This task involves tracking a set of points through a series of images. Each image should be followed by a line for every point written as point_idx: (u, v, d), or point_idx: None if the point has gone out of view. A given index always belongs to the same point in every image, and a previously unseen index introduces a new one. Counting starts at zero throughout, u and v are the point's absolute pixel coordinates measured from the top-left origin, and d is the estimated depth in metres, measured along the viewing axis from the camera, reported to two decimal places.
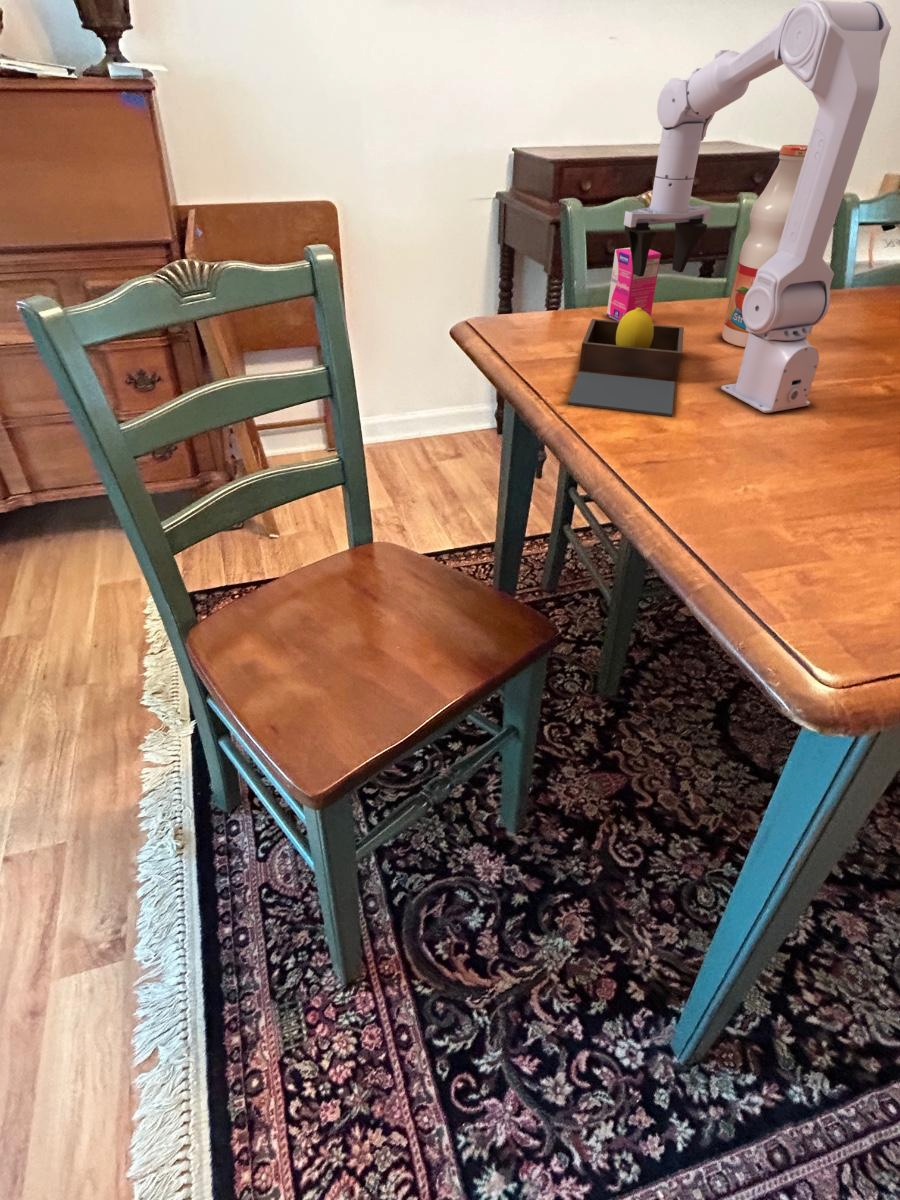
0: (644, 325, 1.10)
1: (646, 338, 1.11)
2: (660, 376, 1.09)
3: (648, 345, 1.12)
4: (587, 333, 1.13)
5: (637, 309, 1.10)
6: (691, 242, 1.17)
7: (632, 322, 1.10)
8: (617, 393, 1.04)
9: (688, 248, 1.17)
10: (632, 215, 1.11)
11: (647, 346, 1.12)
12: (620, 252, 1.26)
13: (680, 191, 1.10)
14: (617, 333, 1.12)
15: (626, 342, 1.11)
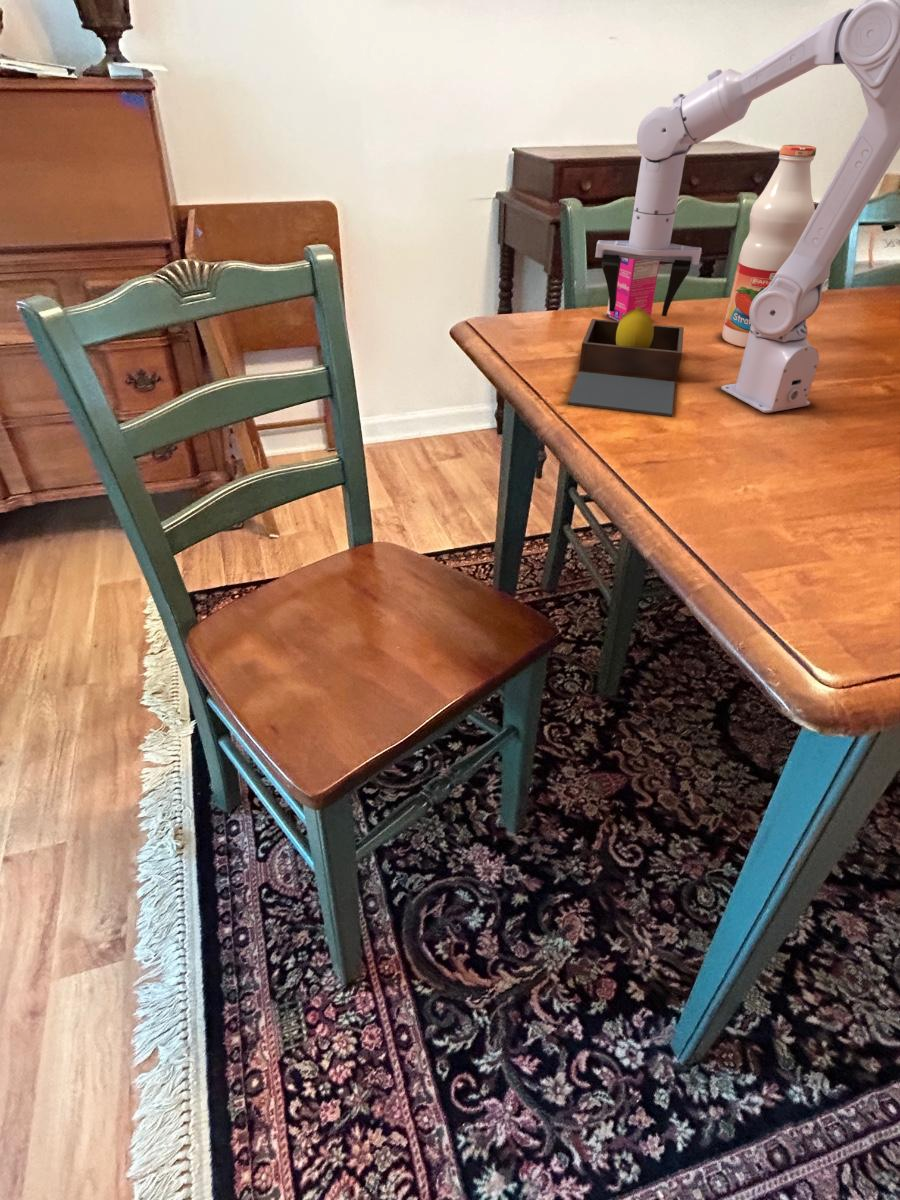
0: (644, 325, 1.10)
1: (646, 338, 1.11)
2: (660, 376, 1.09)
3: (648, 345, 1.12)
4: (587, 333, 1.13)
5: (637, 309, 1.10)
6: (670, 285, 1.06)
7: (632, 322, 1.10)
8: (617, 393, 1.04)
9: (668, 291, 1.06)
10: (597, 245, 1.06)
11: (647, 346, 1.12)
12: None
13: (647, 226, 1.01)
14: (617, 333, 1.12)
15: (626, 342, 1.11)
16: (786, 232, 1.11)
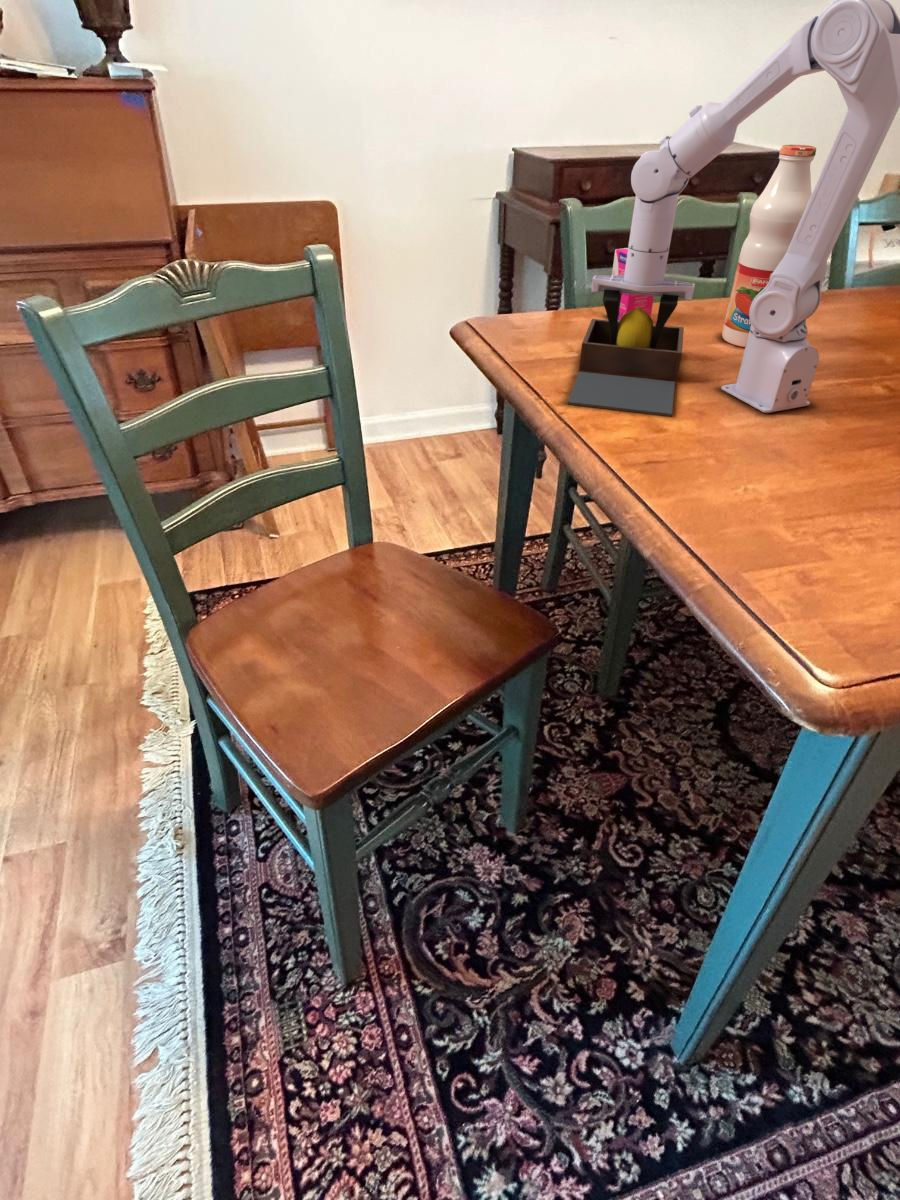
0: (644, 325, 1.10)
1: (646, 338, 1.11)
2: (660, 376, 1.09)
3: (648, 345, 1.12)
4: (587, 333, 1.13)
5: (637, 309, 1.10)
6: (658, 318, 1.09)
7: (632, 322, 1.10)
8: (617, 393, 1.04)
9: (656, 324, 1.09)
10: (593, 280, 1.09)
11: (647, 346, 1.12)
12: (620, 252, 1.26)
13: (641, 263, 1.04)
14: (617, 333, 1.12)
15: (626, 342, 1.11)
16: (786, 232, 1.11)
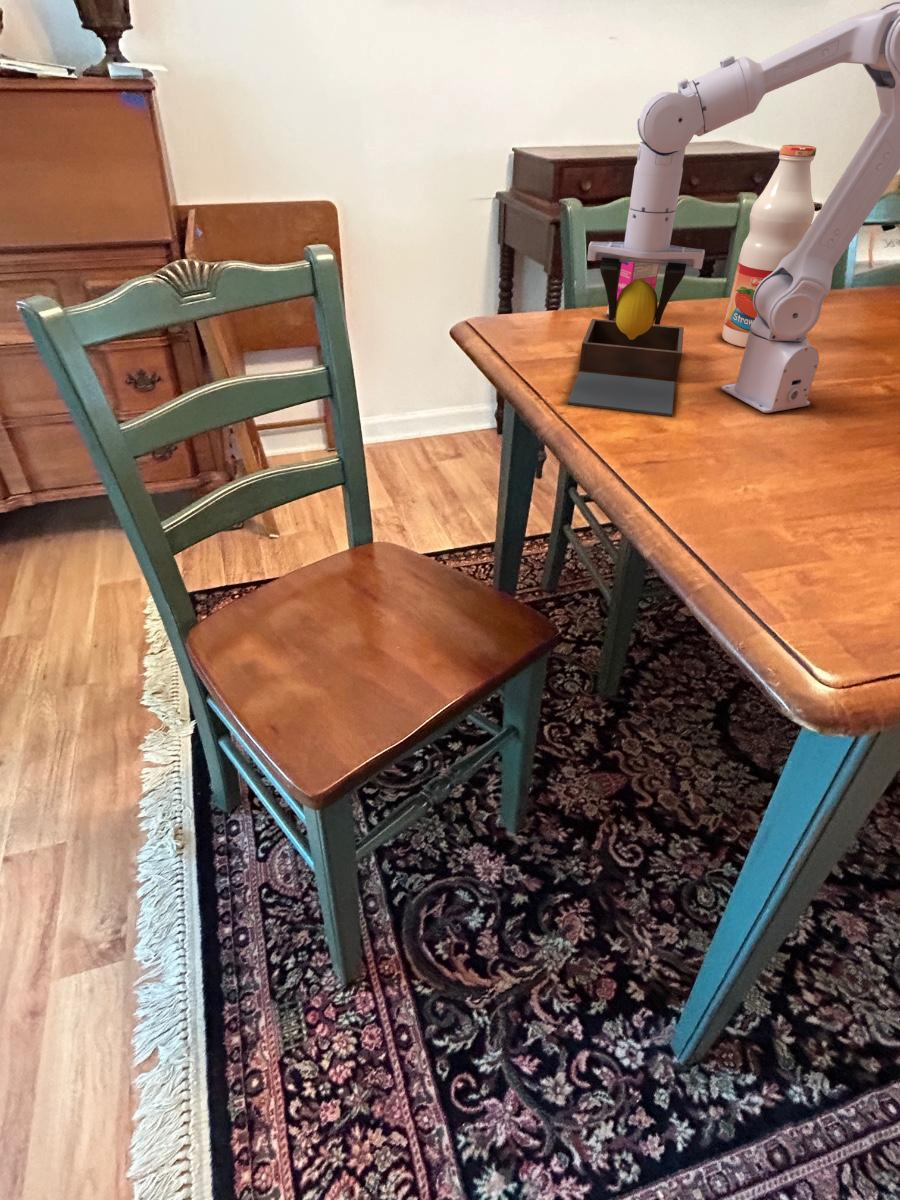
0: (646, 298, 0.97)
1: (649, 313, 0.98)
2: (660, 376, 1.09)
3: (651, 321, 0.99)
4: (587, 333, 1.13)
5: (639, 280, 0.97)
6: (663, 290, 0.96)
7: (633, 294, 0.97)
8: (617, 393, 1.04)
9: (661, 297, 0.97)
10: (589, 246, 0.96)
11: (650, 322, 0.99)
12: None
13: (644, 226, 0.91)
14: (616, 308, 0.99)
15: (626, 318, 0.98)
16: (786, 232, 1.11)
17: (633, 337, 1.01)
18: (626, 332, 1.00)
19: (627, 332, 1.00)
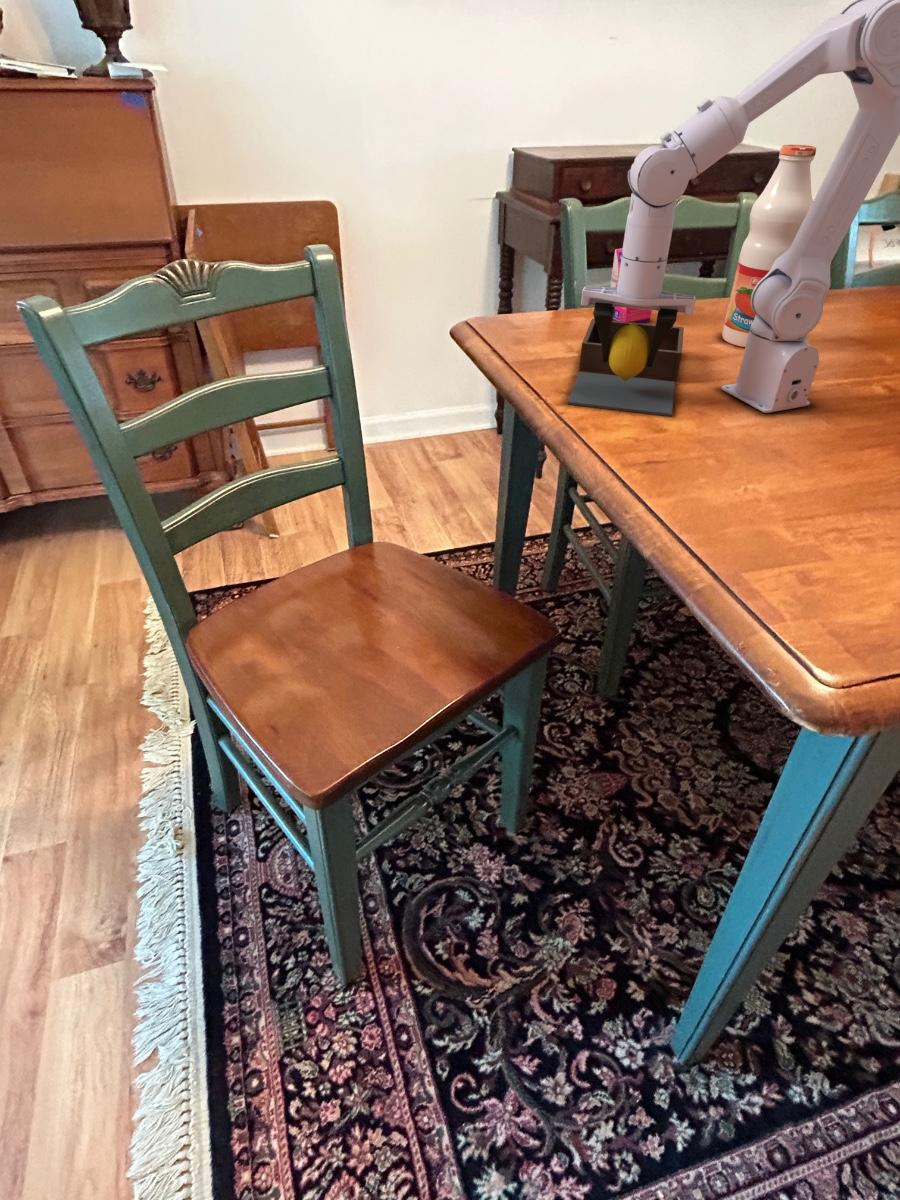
0: (639, 342, 0.99)
1: (641, 356, 1.00)
2: (660, 376, 1.09)
3: (644, 364, 1.01)
4: (587, 333, 1.13)
5: (631, 324, 0.99)
6: (655, 335, 0.98)
7: (626, 338, 0.99)
8: (617, 393, 1.04)
9: (653, 341, 0.98)
10: (582, 292, 0.98)
11: (643, 365, 1.01)
12: (620, 252, 1.26)
13: (636, 274, 0.93)
14: (609, 351, 1.01)
15: (619, 361, 1.00)
16: (786, 232, 1.11)
17: (626, 378, 1.03)
18: (619, 374, 1.02)
19: (620, 374, 1.02)
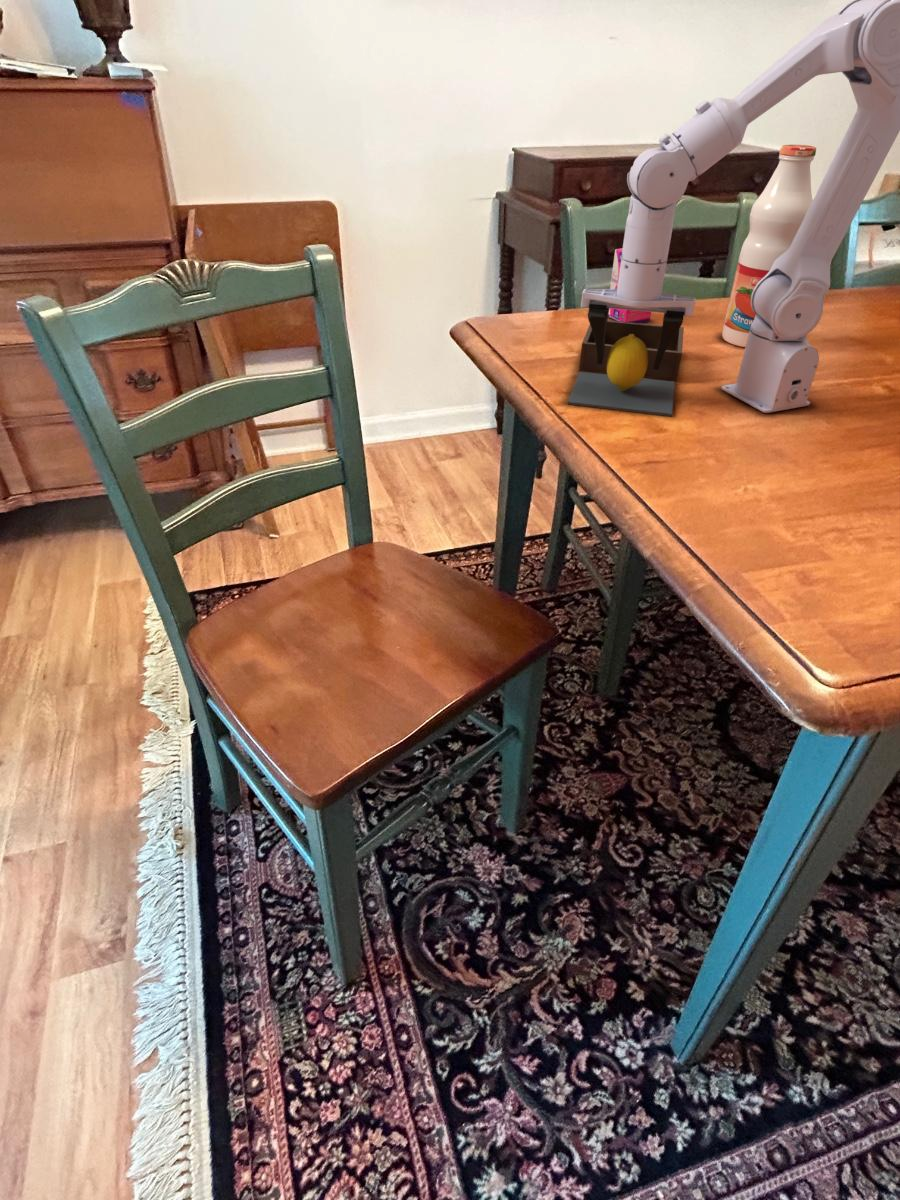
0: (637, 354, 1.00)
1: (640, 367, 1.01)
2: (660, 376, 1.09)
3: (642, 375, 1.02)
4: (587, 333, 1.13)
5: (630, 336, 1.00)
6: (662, 337, 0.98)
7: (624, 350, 1.00)
8: (617, 393, 1.04)
9: (660, 343, 0.98)
10: (582, 294, 0.98)
11: (641, 376, 1.02)
12: (620, 252, 1.26)
13: (636, 276, 0.93)
14: (608, 362, 1.02)
15: (617, 372, 1.01)
16: (786, 232, 1.11)
17: (624, 389, 1.04)
18: (617, 385, 1.03)
19: (618, 385, 1.03)
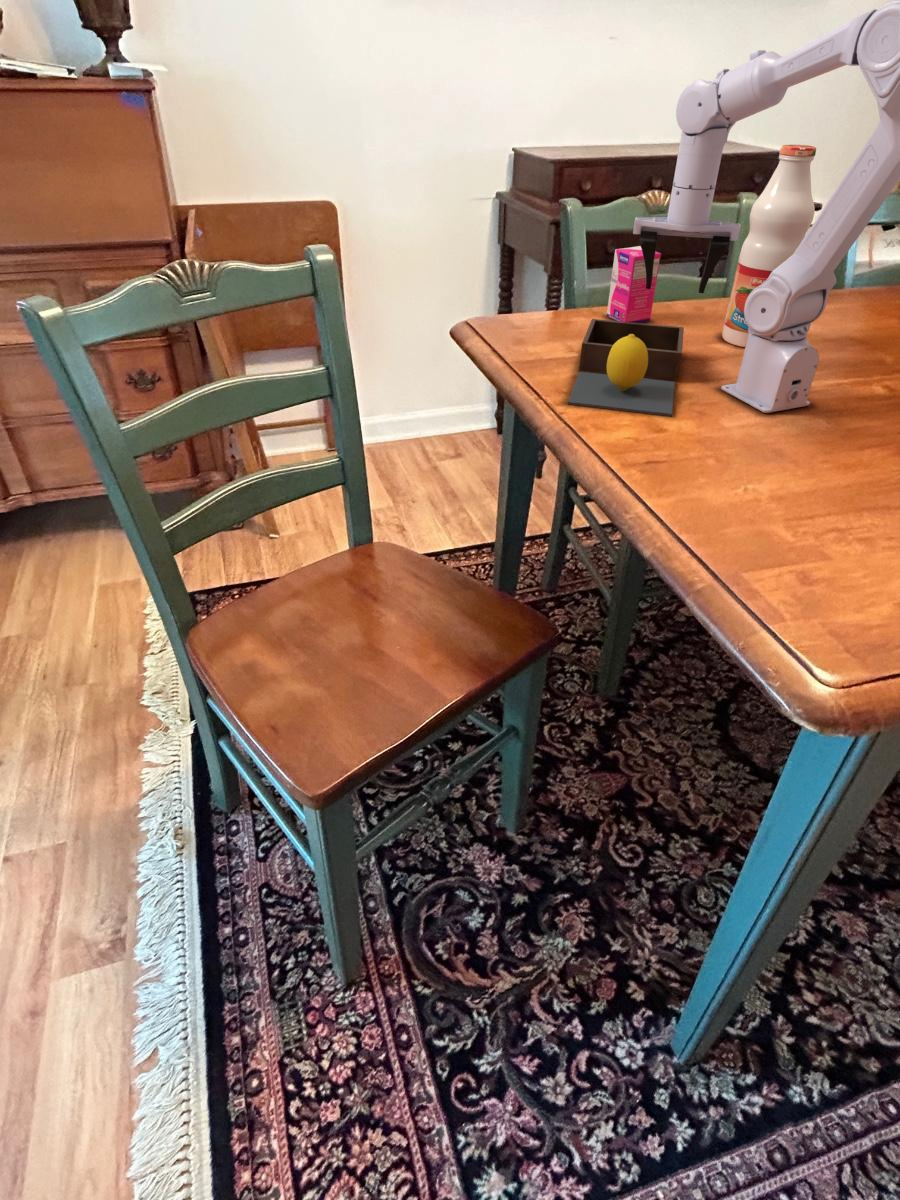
0: (637, 354, 1.00)
1: (640, 367, 1.01)
2: (660, 376, 1.09)
3: (642, 375, 1.02)
4: (587, 333, 1.13)
5: (630, 336, 1.00)
6: (708, 261, 1.06)
7: (624, 350, 1.00)
8: (617, 393, 1.04)
9: (706, 267, 1.07)
10: (635, 221, 1.06)
11: (641, 376, 1.02)
12: (620, 252, 1.26)
13: (687, 201, 1.01)
14: (608, 362, 1.02)
15: (617, 372, 1.01)
16: (786, 232, 1.11)
17: (624, 389, 1.04)
18: (617, 385, 1.03)
19: (618, 385, 1.03)
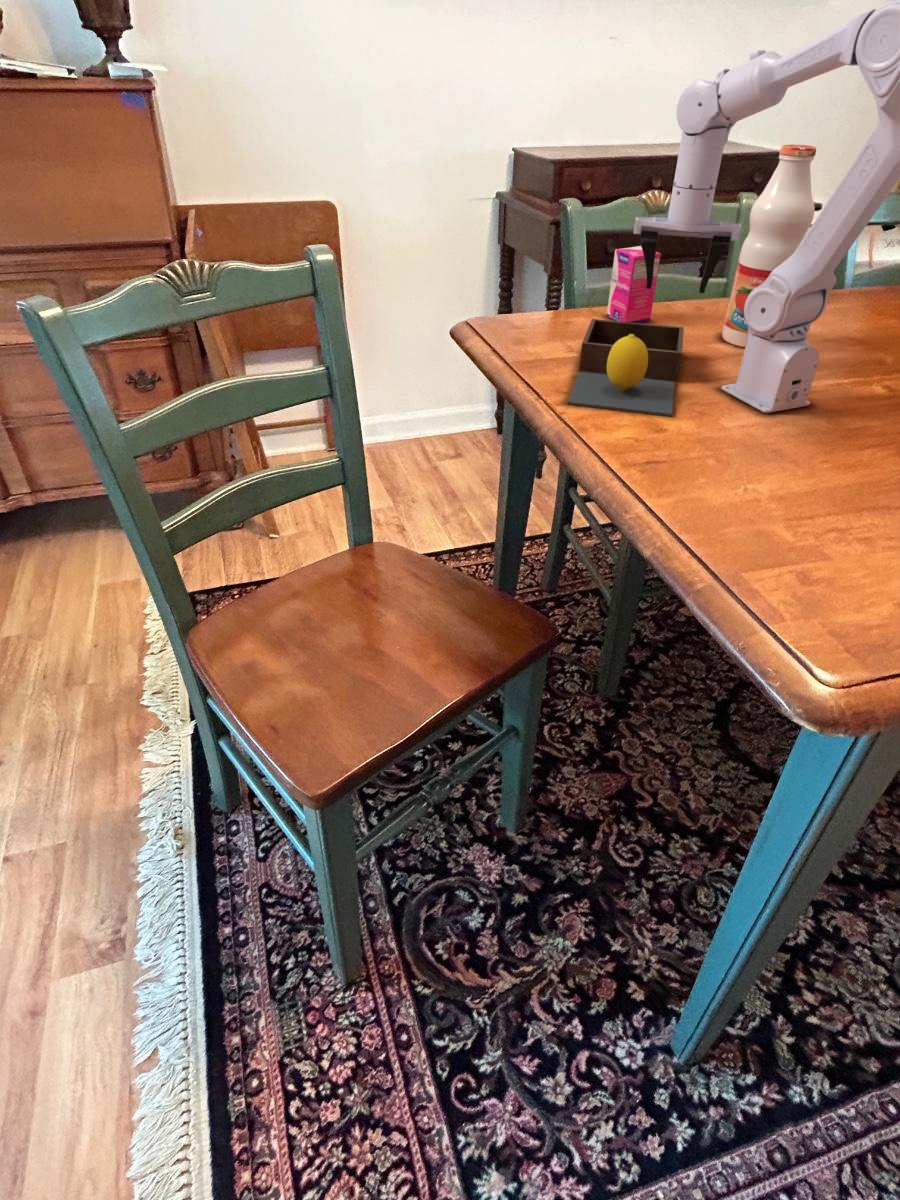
0: (637, 354, 1.00)
1: (640, 367, 1.01)
2: (660, 376, 1.09)
3: (642, 375, 1.02)
4: (587, 333, 1.13)
5: (630, 336, 1.00)
6: (709, 261, 1.06)
7: (624, 350, 1.00)
8: (617, 393, 1.04)
9: (706, 267, 1.07)
10: (635, 221, 1.06)
11: (641, 376, 1.02)
12: (620, 252, 1.26)
13: (687, 201, 1.02)
14: (608, 362, 1.02)
15: (617, 372, 1.01)
16: (786, 232, 1.11)
17: (624, 389, 1.04)
18: (617, 385, 1.03)
19: (618, 385, 1.03)
